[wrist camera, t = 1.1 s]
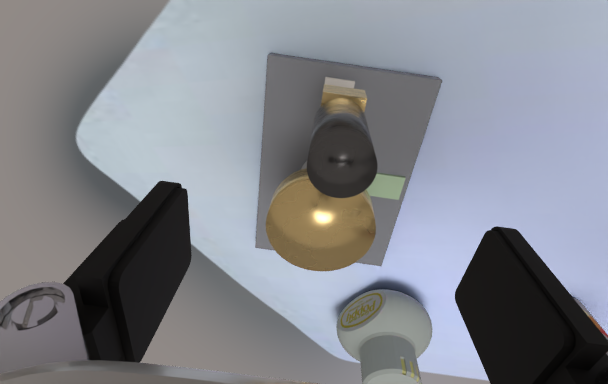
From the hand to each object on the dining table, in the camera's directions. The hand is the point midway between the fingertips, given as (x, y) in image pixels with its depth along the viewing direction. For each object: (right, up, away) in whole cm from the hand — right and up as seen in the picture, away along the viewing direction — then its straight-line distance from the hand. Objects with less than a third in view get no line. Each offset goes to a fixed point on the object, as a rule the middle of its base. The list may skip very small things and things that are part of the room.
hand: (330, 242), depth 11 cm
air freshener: (+9, -13, +31) cm, 35 cm away
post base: (+2, +4, +22) cm, 22 cm away
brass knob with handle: (+1, +3, +14) cm, 15 cm away
